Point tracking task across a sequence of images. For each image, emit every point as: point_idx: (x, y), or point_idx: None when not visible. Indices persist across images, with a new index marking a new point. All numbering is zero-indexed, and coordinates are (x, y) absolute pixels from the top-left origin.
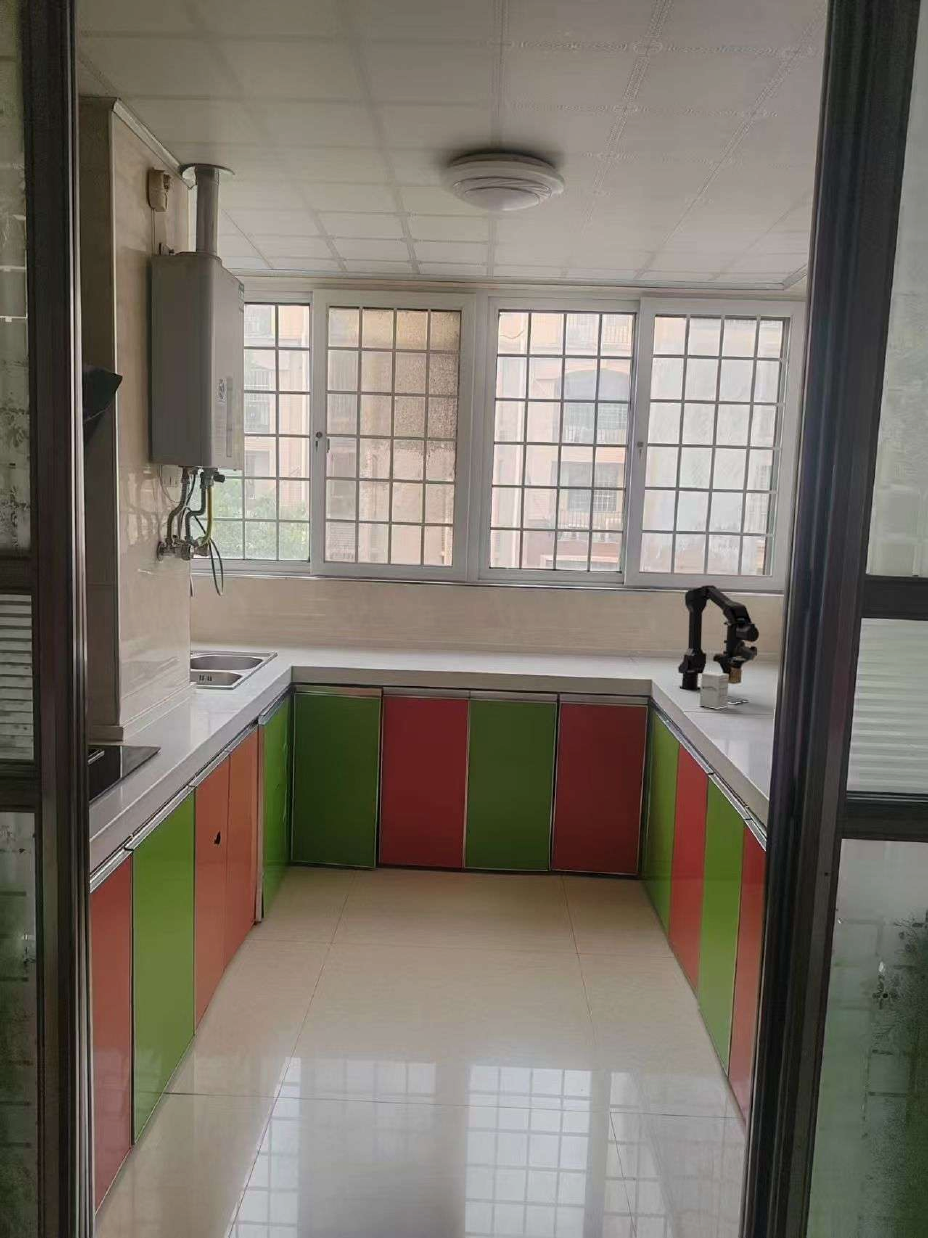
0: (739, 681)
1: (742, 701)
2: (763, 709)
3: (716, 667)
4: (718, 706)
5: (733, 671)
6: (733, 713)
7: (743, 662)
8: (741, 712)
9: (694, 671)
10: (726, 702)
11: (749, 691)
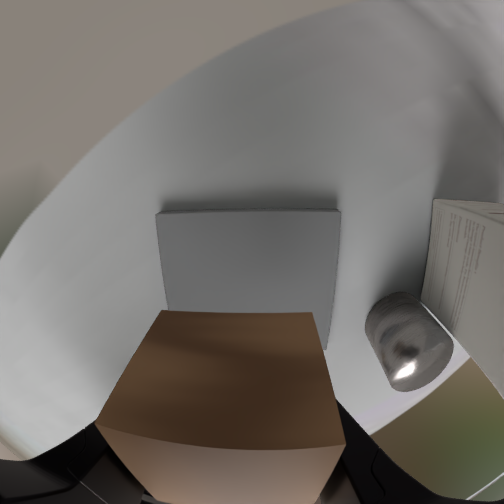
0: (186, 320)
1: (226, 211)
2: (291, 27)
3: (7, 430)
4: (500, 204)
5: (340, 444)
6: (495, 115)
7: (20, 498)
8: (460, 90)
9: (155, 501)
10: (455, 202)
11: (18, 328)
